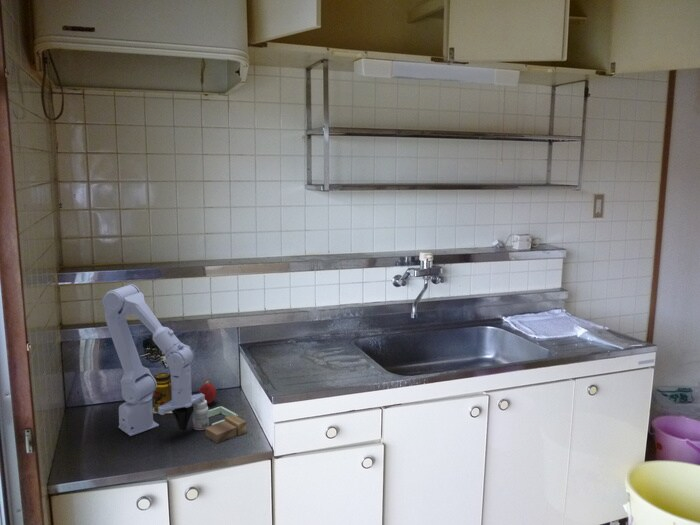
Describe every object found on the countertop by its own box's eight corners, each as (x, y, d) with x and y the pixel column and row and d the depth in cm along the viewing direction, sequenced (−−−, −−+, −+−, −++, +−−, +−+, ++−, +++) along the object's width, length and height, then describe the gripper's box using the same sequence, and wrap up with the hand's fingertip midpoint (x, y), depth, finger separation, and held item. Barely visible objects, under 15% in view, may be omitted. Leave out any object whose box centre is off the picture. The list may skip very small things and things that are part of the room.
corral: (213, 430, 181) (212, 424, 181) (195, 420, 188) (195, 414, 187) (238, 421, 188) (238, 415, 188) (221, 411, 195) (221, 405, 194)
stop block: (238, 435, 179) (238, 424, 178) (224, 427, 183) (224, 417, 183) (246, 432, 181) (246, 421, 180) (232, 424, 186) (232, 414, 185)
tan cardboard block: (217, 444, 174) (216, 434, 173) (205, 437, 178) (205, 428, 177) (236, 436, 179) (236, 427, 178) (225, 429, 183) (224, 420, 182)
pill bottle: (194, 423, 186) (193, 398, 184) (209, 423, 186) (209, 398, 185) (191, 430, 181) (191, 405, 179) (207, 430, 181) (207, 404, 180)
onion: (212, 408, 197) (211, 385, 195) (196, 406, 198) (195, 383, 196) (219, 401, 202) (218, 379, 201) (203, 399, 204) (203, 377, 202)
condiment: (149, 413, 192) (148, 378, 190) (157, 402, 200) (155, 369, 198) (172, 413, 192) (171, 378, 190) (179, 402, 201) (177, 369, 198)
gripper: (166, 397, 168) (167, 442, 171) (209, 384, 179) (210, 426, 181) (153, 390, 173) (155, 433, 176) (197, 377, 183) (198, 418, 186)
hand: (182, 429), depth 179 cm, fingers closed
